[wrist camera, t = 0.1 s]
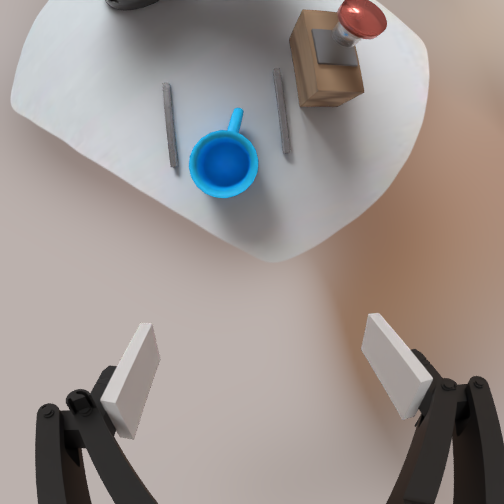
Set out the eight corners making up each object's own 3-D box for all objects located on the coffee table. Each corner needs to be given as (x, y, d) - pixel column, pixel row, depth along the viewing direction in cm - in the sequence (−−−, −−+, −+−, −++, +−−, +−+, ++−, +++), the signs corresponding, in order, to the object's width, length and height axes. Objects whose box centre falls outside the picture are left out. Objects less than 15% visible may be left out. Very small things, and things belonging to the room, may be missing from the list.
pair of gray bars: (165, 86, 35) (162, 83, 33) (278, 71, 35) (279, 68, 34) (173, 167, 39) (170, 167, 37) (288, 152, 39) (290, 152, 38)
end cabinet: (299, 106, 37) (319, 89, 27) (289, 39, 33) (303, 7, 23) (337, 106, 37) (366, 91, 27) (325, 40, 33) (348, 11, 23)
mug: (246, 197, 41) (248, 205, 33) (193, 185, 40) (182, 190, 32) (267, 120, 37) (274, 109, 30) (212, 107, 36) (206, 94, 29)
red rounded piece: (321, 18, 21) (337, -7, 16) (359, 23, 21) (380, 1, 16) (328, 51, 23) (347, 30, 17) (367, 55, 23) (391, 37, 17)
